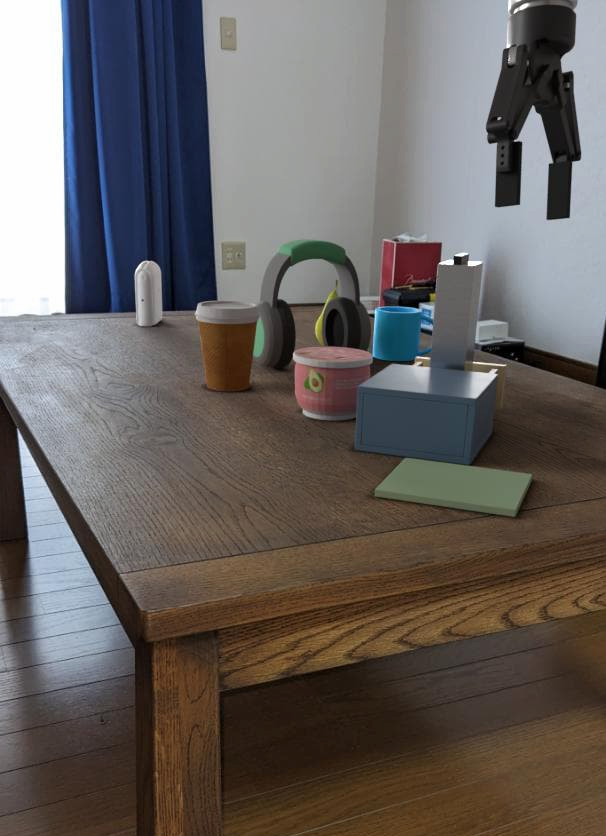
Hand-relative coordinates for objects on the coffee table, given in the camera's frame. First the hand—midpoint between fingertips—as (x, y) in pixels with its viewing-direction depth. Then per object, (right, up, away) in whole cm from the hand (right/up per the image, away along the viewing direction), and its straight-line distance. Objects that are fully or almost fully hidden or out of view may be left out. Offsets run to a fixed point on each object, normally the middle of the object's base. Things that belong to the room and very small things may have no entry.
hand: (533, 213), depth 105 cm
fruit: (-22, -3, +61) cm, 65 cm away
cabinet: (-12, -26, +4) cm, 29 cm away
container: (-23, -21, +16) cm, 35 cm away
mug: (-9, -6, +54) cm, 55 cm away
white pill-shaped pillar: (-59, +7, +82) cm, 102 cm away
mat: (-11, -33, -12) cm, 37 cm away
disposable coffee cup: (-38, -16, +29) cm, 50 cm away
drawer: (-7, -21, +16) cm, 27 cm away
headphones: (-26, -9, +45) cm, 53 cm away
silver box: (-8, -20, +14) cm, 26 cm away
